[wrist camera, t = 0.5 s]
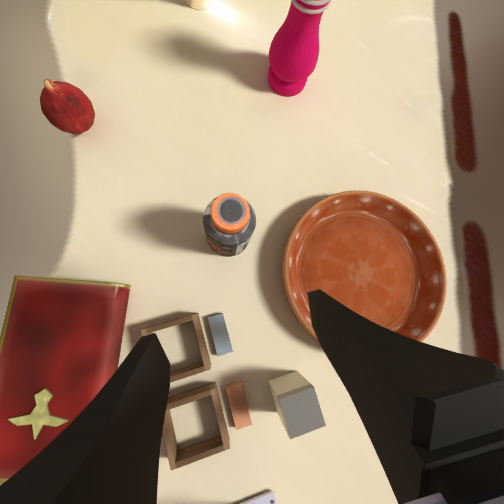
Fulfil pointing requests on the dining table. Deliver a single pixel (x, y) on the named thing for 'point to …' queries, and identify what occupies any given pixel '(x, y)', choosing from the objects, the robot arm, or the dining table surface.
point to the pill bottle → (229, 224)
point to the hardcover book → (54, 359)
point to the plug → (296, 404)
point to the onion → (66, 107)
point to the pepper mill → (296, 47)
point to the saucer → (366, 262)
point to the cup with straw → (199, 4)
